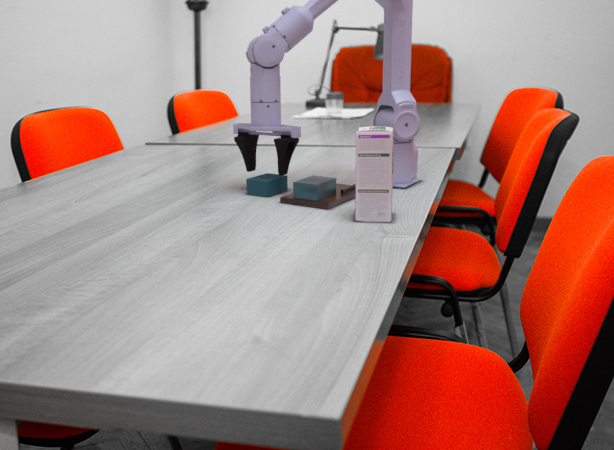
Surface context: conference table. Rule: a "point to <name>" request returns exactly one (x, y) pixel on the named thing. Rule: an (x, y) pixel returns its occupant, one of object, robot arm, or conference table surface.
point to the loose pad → (267, 184)
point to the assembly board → (323, 202)
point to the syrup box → (374, 174)
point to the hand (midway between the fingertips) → (266, 172)
